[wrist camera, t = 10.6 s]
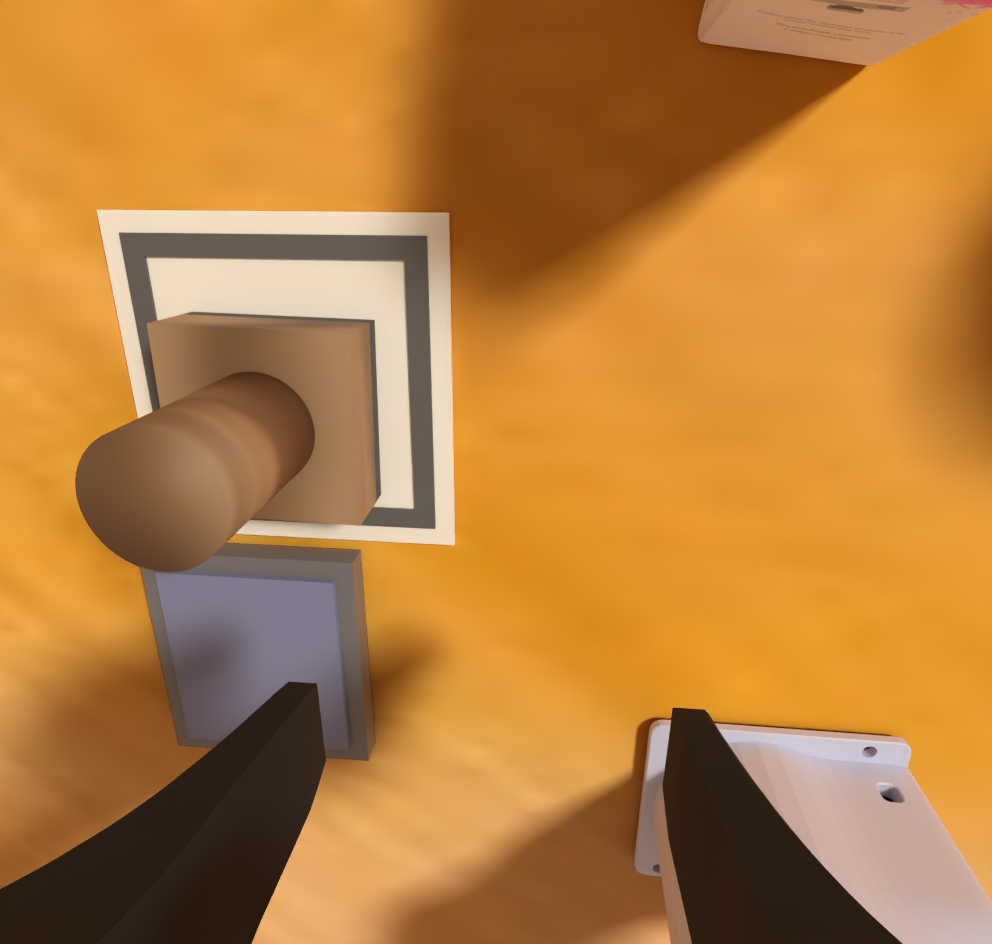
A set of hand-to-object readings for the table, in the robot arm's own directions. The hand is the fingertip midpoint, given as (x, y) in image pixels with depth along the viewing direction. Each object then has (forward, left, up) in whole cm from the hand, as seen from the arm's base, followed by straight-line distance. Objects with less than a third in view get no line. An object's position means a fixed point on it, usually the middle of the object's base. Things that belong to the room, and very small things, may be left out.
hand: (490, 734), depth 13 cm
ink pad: (+10, +6, -10) cm, 16 cm away
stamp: (+8, -4, -10) cm, 13 cm away
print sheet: (+8, -4, -10) cm, 14 cm away
